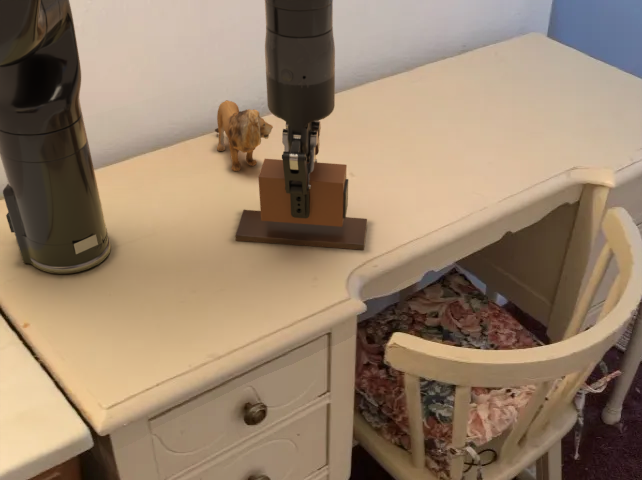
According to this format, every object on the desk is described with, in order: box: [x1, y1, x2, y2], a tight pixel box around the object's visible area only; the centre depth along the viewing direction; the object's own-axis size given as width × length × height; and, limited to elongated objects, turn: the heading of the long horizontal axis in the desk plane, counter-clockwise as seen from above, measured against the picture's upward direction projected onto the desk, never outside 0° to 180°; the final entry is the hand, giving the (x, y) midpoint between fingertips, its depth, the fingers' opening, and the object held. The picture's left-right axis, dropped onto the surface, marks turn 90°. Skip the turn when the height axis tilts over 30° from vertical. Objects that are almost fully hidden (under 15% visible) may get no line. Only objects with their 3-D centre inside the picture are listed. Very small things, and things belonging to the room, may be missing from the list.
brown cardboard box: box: [258, 158, 349, 227], centre depth 101 cm, size 4×10×6 cm, turn 86°
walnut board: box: [234, 209, 368, 251], centre depth 105 cm, size 16×6×1 cm, turn 87°
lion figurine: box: [214, 100, 274, 172], centre depth 116 cm, size 15×5×9 cm, turn 33°
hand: (303, 204), depth 103 cm, fingers closed on brown cardboard box, 4 cm apart
